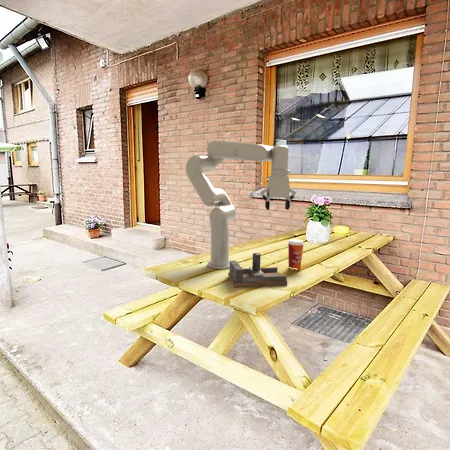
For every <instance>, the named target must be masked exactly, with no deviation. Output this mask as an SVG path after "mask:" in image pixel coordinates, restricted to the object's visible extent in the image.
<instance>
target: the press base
mask: <svg viewBox="0 0 450 450" xmlns="http://www.w3.org/2000/svg"><path fill="white" fill-rule="evenodd" d="M229 262H230V268H229V271H228V272H227V277H228V276H229V277H228V278H230V279H229V280H230V282H231V284H232V286H233V288H234V289H240V288H239V287H244V288H257V287H258V288H259V287H261V288H262V287H280V286H288V280H287V279H288V277H287V275H285V274H284V275H281V274H280V273H279V272H278V266H276V267H274V266H273V267H260V270H261V271H262V272H263V273H264V276H259V277H252V276H251V275H250V274H249V267H248V268H242V266H241V265H240V264H239V262H238V261H237V260H229Z"/></svg>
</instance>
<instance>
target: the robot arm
mask: <svg viewBox="0 0 450 450" xmlns="http://www.w3.org/2000/svg"><path fill="white" fill-rule="evenodd" d="M206 146H207V147H206V152H207V154H206V155H205V154H195V155H192V156H190V157H189V158H188V160H187V161H186V165H185V172H186V176H187V177H188V179H189V181H190V183H191V185H192V186H193V188H194V190H195V191H196V194H197V195H198V197H199V198H200V200H201V202H202V203H203V205H204V206H205V207H214V208H212V209H211V210H210V213H209V216H208V217H209V224H210V261H209V262H207V267H209V268H210V269H215V270H226V269H230V259H229V257H230V256H229V255H230V228H229V223H231V222H233V221H234V220H236V216H237V211H236V208H235V206H234V205H233V202H232V201H231V199H230V198H229V196H228V195H227V193H226V192H225V190H223V189H222V188H220V187H214V186H213V185H212V183H211V181H210V179H209V178H208V177H207V176H206V175H205V174H204V173H205V172H210V171H212V170H214V169H215V168H216V167H217V166H219V165H220V164H221V163H222V162H223V161H224V160H233V161H239V160H241V161H243V160H244V161H252V162H264V163H265V162H266V163H267V162H270V163H271V167H270V175H269V176H268V179H267V186H266V188H265V189H263V190H261V191H260V195H261V198H262V199H263V200H264V201H265V203H264V207H265V209H266V210H267V211H269V210H270V203H271V202H270V200H271V199H272V198H285V205H284V209H285V210H287V211H289V210H290V208H291V201H292V200H293V199H294V198H295V196H296V194H297V192H296V191H295V190H293V189H291V188H290V177H289V174H291V170H289V168H288V167H289V147H288V146H287V145H273V146H272V145H271V146H270V145H266V144H258V143H244V142H239V141H226V140H212V141H210V142H209V143H208V144H207V145H206ZM290 193H291V195H290ZM265 194H266V195H265Z"/></svg>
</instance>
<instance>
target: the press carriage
mask: <svg viewBox="0 0 450 450" xmlns="http://www.w3.org/2000/svg"><path fill="white" fill-rule="evenodd" d="M261 259H262V258H261V253H259V252H253V253H252V262H251V263H252V266H249V267H248V268H249V274H250V275H251V276H252V277H259V276H264V273H263V272H262V271H261V270H260V268H261Z"/></svg>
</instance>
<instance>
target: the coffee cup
mask: <svg viewBox="0 0 450 450" xmlns="http://www.w3.org/2000/svg"><path fill="white" fill-rule="evenodd" d="M287 245H288V268H289V267H291V268H297V269H298V270H297V271H300V270H301V268H302V267H301V265H302V258H303V251H304V245H305V243H304V240H302V239H297V238H296V239H294V238H293V239H292V238H291V239H289V240H288V242H287Z"/></svg>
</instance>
